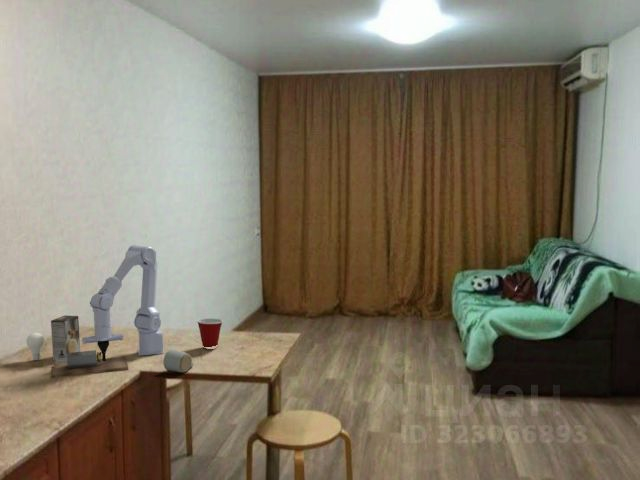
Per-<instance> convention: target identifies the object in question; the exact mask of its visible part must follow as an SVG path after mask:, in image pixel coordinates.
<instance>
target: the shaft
mask: <svg viewBox="0 0 640 480" xmlns="http://www.w3.org/2000/svg"><path fill="white" fill-rule="evenodd" d="M96 360H97V362H102V352H101V351H99V352H97V351H96ZM54 362H55V364H62V363H67V358H57V359H55V360H54Z"/></svg>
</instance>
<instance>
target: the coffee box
mask: <svg viewBox="0 0 640 480" xmlns="http://www.w3.org/2000/svg"><path fill="white" fill-rule="evenodd" d="M79 324H80V321H79V316H78V315H63V316H59V317H57V318H55V319H52V320H50V327H51V330H50V331H51V342H52V344H51V345H52V359H53V361H55V359H57V358H67V355H68V353H72V352H81V342H80V340H81V339H80V325H79Z"/></svg>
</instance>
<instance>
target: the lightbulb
mask: <svg viewBox="0 0 640 480" xmlns="http://www.w3.org/2000/svg"><path fill="white" fill-rule="evenodd" d="M25 343H26V345H27V346H28V348H29V349H30V352H31V355H32V360H33V361H39V360H40V359H41V350H42V347H43V346H44V344H45V337H44V336H43V335H42V333H40V332H33V333H31V334H29V335H28V336H27V338H26V342H25Z"/></svg>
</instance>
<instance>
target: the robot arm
mask: <svg viewBox="0 0 640 480" xmlns="http://www.w3.org/2000/svg"><path fill="white" fill-rule="evenodd" d="M135 266H139V267H140V268H141V269H142V279H141V281H142V282H141V299H140V303H141V304H140V307H139V308H138V309H137V310H136V316H135V317H134V321H133V323H134V327H135V328H136V329H137V332H138V347H139V348H138V349H137V353H138V356H139V357H140V356H149V355H150V356H151V355H159V354H160V355H161V354H164V339H163V330H161V329H160V327H161V324H162V319H161V317H160V314H161V313H160V312H159V310H158V309H157V308H156V296H157V294H156V293H157V276H158V262H157V251H156V250H155V249H154V248H153V247H152V246H150V245H149V246H146V245H145V246H143V245H137V244H132V245H130V246H129V247H128V249H127V250H126V251H125V256H124V259H123V261H122V262H121V263H120V265H119V266H118V268H117V270H116V272H115V274H114V275H113V276H109V277H108V278H106V280H105V282H104V284H103V285H102V287H101V288H100V289H99V290H98V292H97V293H95V294H93V296H92V297H91V299H90V301H89V306H90V307H91V308H92V312H93V322H94V323H93V325H94V326H93V327H94V335H93V336H92V335H91V336H85V337H82V342H81V343H82V345H85V344H92V343H97V346H98V349H99V350H100V352H101V357H102V361H106V358H107V357H106V354H107V350H108V348H109V346H110V342H113V341H114V342H115V341H124V334H120V333H119V334H118V333H116V334H114V333H113V334H112V330H111V329H112V328H111V327H112V326H111V308H112V306H113V305H114V299H115V296H116V295H117V293H118V292H119V290H120V289H121V288H122V286H123V284H122V283H123V282H122V281H123V280H124V279H125V277H126V276H127V275H128V274H129V272H130V271H131V270H132V269H133V267H135Z"/></svg>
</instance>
